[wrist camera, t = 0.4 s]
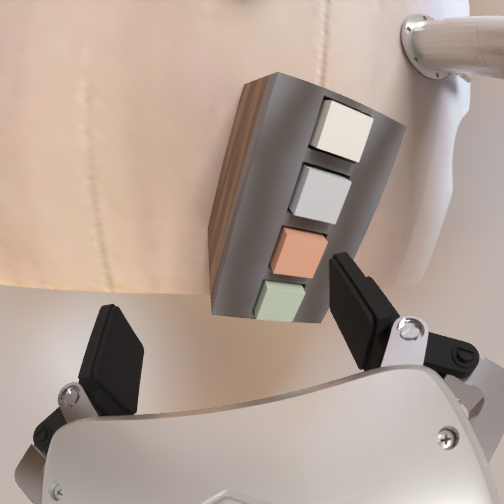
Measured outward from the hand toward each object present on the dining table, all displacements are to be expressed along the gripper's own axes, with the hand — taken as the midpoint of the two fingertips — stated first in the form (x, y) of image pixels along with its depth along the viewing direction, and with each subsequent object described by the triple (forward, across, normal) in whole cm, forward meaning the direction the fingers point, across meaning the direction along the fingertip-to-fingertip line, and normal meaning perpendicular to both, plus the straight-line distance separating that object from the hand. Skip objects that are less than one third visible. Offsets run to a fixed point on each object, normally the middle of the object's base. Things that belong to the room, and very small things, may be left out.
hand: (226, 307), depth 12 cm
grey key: (+13, -8, +1) cm, 15 cm away
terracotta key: (+13, -6, +6) cm, 15 cm away
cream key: (+13, -11, -4) cm, 17 cm away
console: (+31, -7, +3) cm, 31 cm away
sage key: (+13, -3, +11) cm, 17 cm away
